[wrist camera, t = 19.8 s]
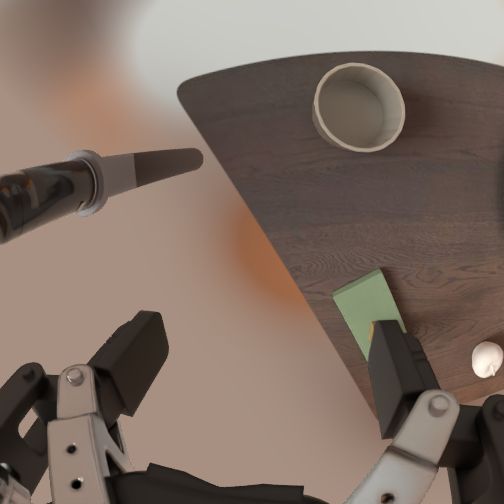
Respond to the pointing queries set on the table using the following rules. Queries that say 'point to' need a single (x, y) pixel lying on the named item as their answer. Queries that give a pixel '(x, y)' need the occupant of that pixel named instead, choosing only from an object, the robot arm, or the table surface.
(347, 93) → the tin
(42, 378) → the robot arm
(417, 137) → the table surface
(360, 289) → the green rectangular block
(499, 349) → the apple
